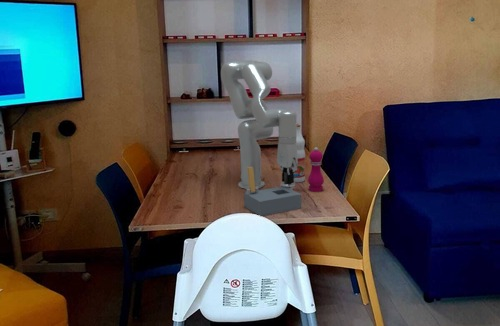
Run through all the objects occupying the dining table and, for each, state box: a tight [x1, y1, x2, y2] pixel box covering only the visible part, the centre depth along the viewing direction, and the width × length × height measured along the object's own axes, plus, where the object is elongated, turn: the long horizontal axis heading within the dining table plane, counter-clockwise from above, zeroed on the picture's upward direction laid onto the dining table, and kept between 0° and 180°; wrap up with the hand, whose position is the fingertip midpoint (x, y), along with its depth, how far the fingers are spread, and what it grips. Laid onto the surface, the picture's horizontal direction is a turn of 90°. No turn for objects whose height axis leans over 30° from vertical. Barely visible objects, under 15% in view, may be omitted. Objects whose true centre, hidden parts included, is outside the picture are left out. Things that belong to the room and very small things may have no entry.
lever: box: [247, 167, 256, 193], centre depth 198 cm, size 11×2×2 cm
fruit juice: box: [290, 123, 306, 183], centre depth 236 cm, size 9×9×28 cm
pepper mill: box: [307, 147, 325, 193], centre depth 220 cm, size 7×7×20 cm
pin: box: [280, 171, 296, 191], centre depth 209 cm, size 6×6×12 cm
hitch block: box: [243, 186, 302, 217], centre depth 199 cm, size 14×19×8 cm
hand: (287, 181), depth 209 cm, fingers closed on pin, 3 cm apart
